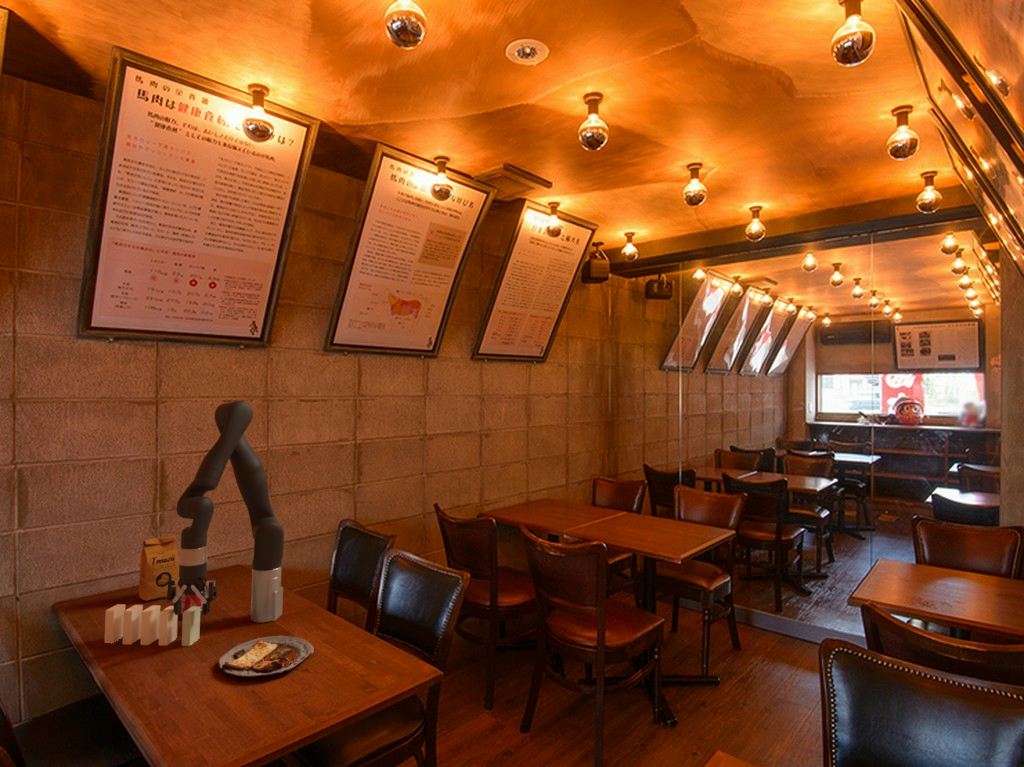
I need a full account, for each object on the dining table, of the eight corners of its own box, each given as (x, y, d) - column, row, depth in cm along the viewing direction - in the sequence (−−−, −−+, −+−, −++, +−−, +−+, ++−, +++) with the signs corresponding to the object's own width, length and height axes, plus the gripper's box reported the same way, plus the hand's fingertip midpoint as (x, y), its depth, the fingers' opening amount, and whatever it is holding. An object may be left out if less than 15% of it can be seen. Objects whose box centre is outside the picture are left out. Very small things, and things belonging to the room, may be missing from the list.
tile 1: (124, 636, 174) (125, 604, 174) (112, 643, 169) (113, 610, 169) (116, 636, 174) (117, 604, 174) (104, 643, 169) (105, 610, 169)
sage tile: (199, 638, 173) (200, 606, 174) (189, 646, 168) (191, 612, 169) (191, 638, 173) (192, 606, 174) (181, 645, 168) (182, 612, 169)
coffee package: (181, 596, 208) (183, 537, 208) (142, 604, 199) (144, 542, 200) (174, 589, 215) (176, 532, 216) (136, 596, 207) (138, 537, 207)
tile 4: (176, 638, 173) (178, 605, 174) (166, 645, 168) (167, 612, 169) (168, 638, 174) (170, 605, 174) (158, 645, 168) (159, 612, 169)
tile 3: (159, 637, 174) (160, 605, 174) (148, 645, 169) (149, 611, 169) (151, 637, 174) (152, 605, 174) (140, 644, 169) (141, 611, 169)
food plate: (275, 688, 146) (276, 674, 146) (198, 677, 151) (199, 664, 151) (326, 648, 170) (326, 636, 171) (258, 640, 175) (258, 629, 175)
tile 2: (141, 637, 174) (143, 604, 174) (130, 644, 169) (131, 611, 169) (133, 637, 174) (135, 604, 174) (122, 644, 169) (123, 611, 169)
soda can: (196, 619, 187) (198, 584, 188) (176, 619, 188) (177, 583, 188) (208, 611, 194) (210, 577, 195) (188, 611, 195) (190, 576, 195)
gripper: (222, 558, 175) (221, 610, 175) (177, 556, 175) (175, 608, 175) (209, 565, 168) (207, 620, 167) (162, 564, 168) (160, 618, 167)
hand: (191, 614), depth 171 cm, fingers open, 8 cm apart
